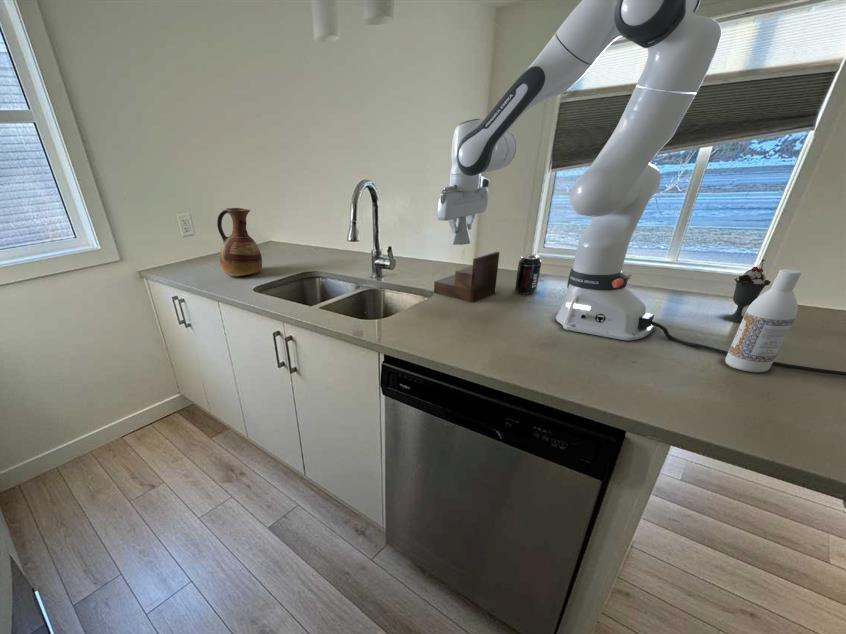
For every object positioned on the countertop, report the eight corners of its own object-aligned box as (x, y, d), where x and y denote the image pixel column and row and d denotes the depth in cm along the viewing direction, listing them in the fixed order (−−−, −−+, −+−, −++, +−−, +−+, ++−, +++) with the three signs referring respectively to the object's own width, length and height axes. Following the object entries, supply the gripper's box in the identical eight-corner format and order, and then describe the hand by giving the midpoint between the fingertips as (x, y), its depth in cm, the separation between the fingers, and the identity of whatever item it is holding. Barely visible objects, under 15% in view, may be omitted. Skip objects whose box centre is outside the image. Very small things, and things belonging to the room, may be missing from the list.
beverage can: (539, 294, 134) (546, 257, 128) (518, 296, 135) (524, 259, 129) (531, 288, 140) (537, 253, 134) (511, 290, 141) (516, 255, 135)
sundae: (747, 315, 106) (772, 257, 99) (757, 324, 101) (784, 264, 94) (715, 313, 109) (737, 257, 102) (723, 322, 104) (747, 263, 97)
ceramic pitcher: (260, 277, 186) (248, 208, 171) (218, 281, 187) (202, 212, 172) (267, 267, 203) (256, 203, 188) (228, 271, 204) (214, 207, 189)
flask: (469, 240, 133) (471, 207, 128) (473, 244, 127) (476, 210, 122) (446, 241, 134) (448, 209, 129) (450, 246, 128) (452, 212, 123)
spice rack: (494, 293, 139) (499, 251, 132) (472, 301, 133) (476, 259, 127) (455, 284, 152) (458, 246, 145) (433, 292, 146) (435, 252, 139)
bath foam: (724, 355, 89) (763, 265, 79) (767, 363, 85) (815, 268, 75) (723, 368, 85) (765, 273, 75) (769, 376, 81) (820, 277, 71)
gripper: (450, 187, 114) (447, 238, 121) (493, 180, 124) (488, 227, 131) (433, 187, 119) (431, 236, 126) (476, 180, 129) (472, 225, 136)
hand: (460, 231), depth 129 cm, fingers closed on flask, 5 cm apart
